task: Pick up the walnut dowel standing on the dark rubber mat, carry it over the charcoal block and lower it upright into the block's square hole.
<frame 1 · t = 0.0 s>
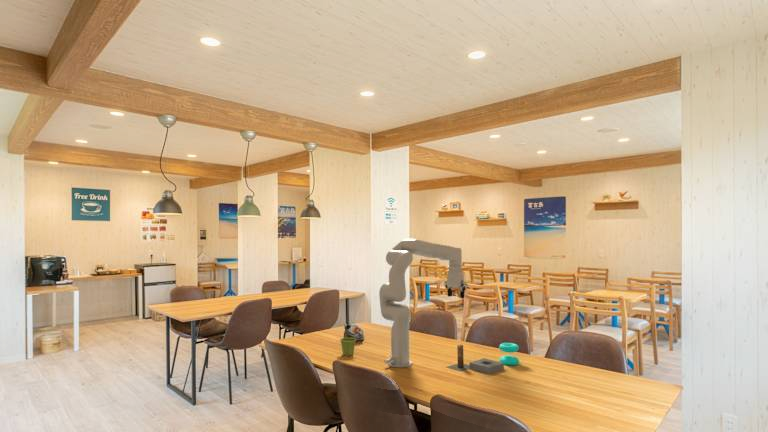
hand: (455, 297, 263), 31 cm above the table, tool pointing down, fingers open, 9 cm apart
dowel: (460, 356, 226), on the mat
plant pot: (348, 355, 254), on the table
donuts: (509, 364, 232), on the table
mat: (460, 367, 226), on the table
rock: (354, 340, 290), on the table
socket block: (486, 369, 222), on the table
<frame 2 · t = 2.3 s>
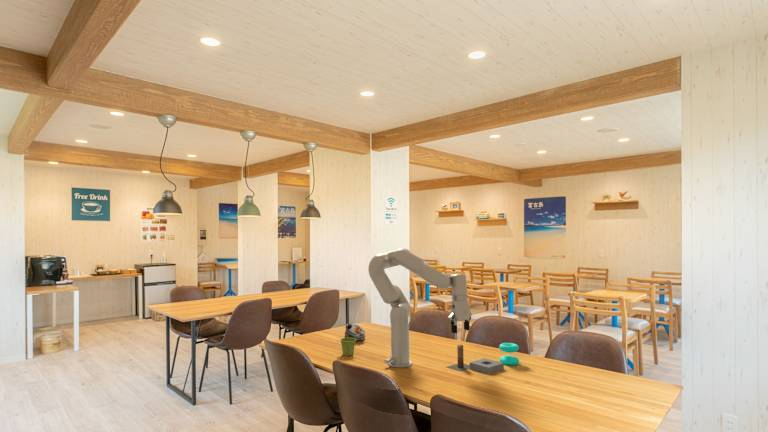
hand: (460, 331, 227), 18 cm above the table, tool pointing down, fingers open, 9 cm apart
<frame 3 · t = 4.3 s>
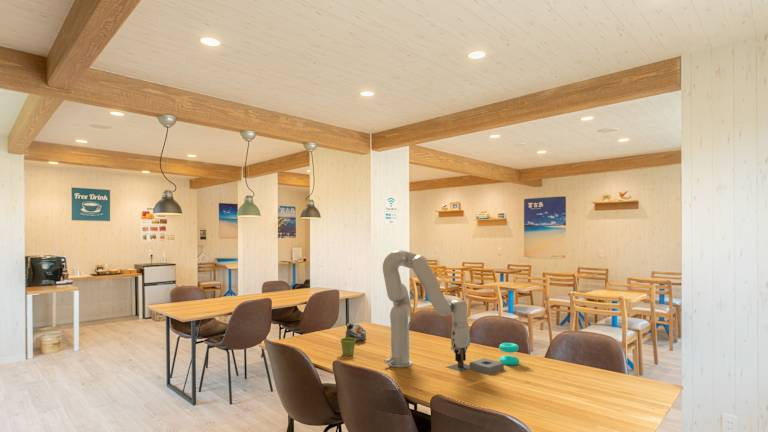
hand: (460, 360, 226), 4 cm above the table, tool pointing down, fingers closed on dowel, 3 cm apart
dowel: (460, 356, 226), on the mat, touching gripper
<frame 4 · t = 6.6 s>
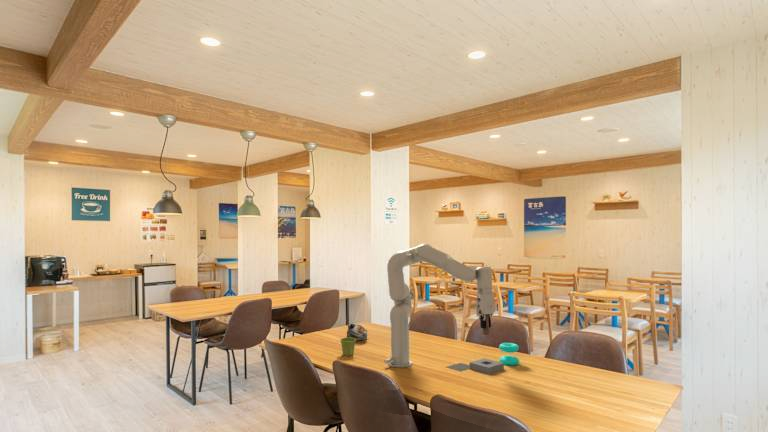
hand: (485, 327, 223), 21 cm above the table, tool pointing down, fingers closed on dowel, 3 cm apart
dowel: (485, 322, 223), point 23 cm above the table, touching gripper
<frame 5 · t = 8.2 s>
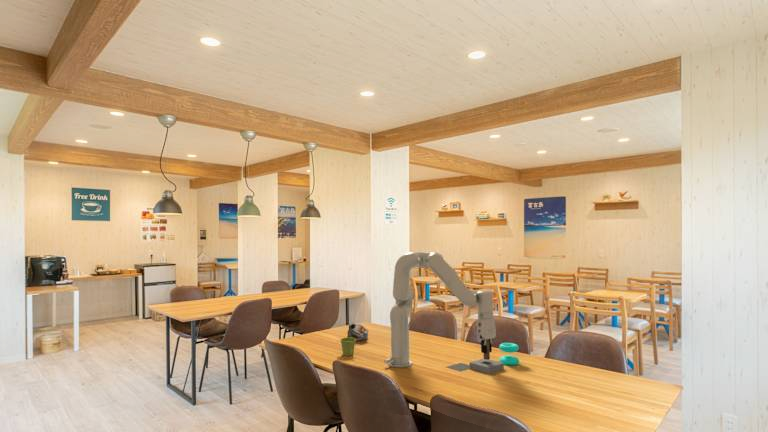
hand: (486, 352, 222), 9 cm above the table, tool pointing down, fingers closed on dowel, 3 cm apart
dowel: (486, 347, 222), point 11 cm above the table, touching gripper
when the fingers open (5 cm above the table, at t = 9.2 s): dowel drops 1 cm, resting in socket block.
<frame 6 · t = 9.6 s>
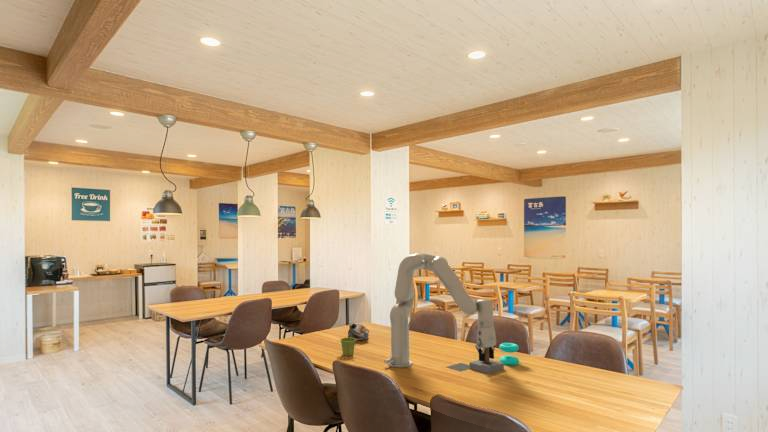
hand: (486, 359, 222), 5 cm above the table, tool pointing down, fingers open, 6 cm apart
dowel: (486, 358, 222), in the socket block
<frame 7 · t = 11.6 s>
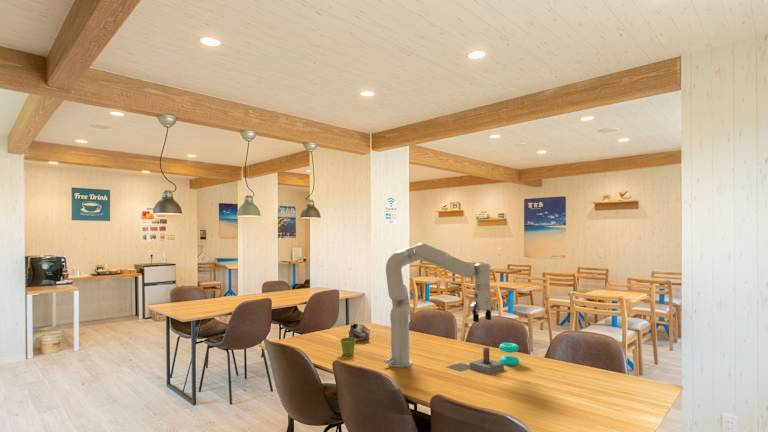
hand: (482, 320, 228), 24 cm above the table, tool pointing down, fingers open, 9 cm apart
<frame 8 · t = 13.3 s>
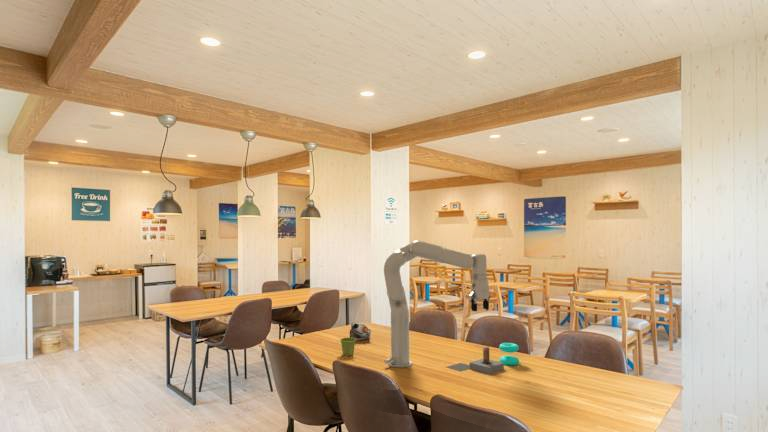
hand: (480, 309, 233), 28 cm above the table, tool pointing down, fingers open, 9 cm apart
at the end: dowel 0.0 cm off-centre on the socket block, point 5.5 cm above the socket block's base; dowel tilted 0°; the gripper is holding nothing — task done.
